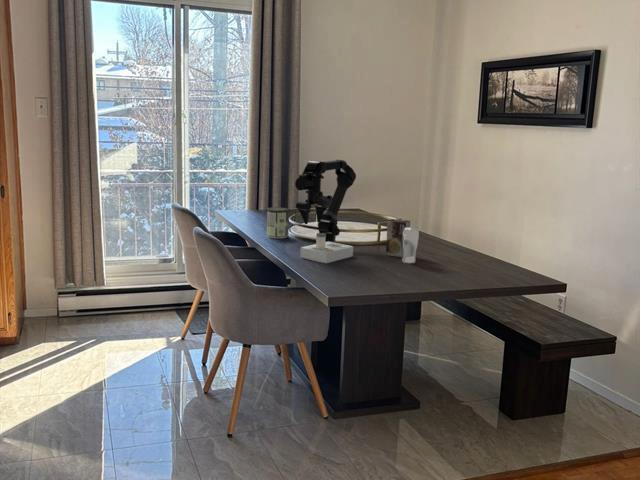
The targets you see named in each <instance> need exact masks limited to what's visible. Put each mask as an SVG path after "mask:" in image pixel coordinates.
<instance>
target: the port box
mask: <svg viewBox="0 0 640 480" xmlns="http://www.w3.org/2000/svg"><path fill="white" fill-rule="evenodd" d="M353 256H354V246H352V245H349V244H348V245H347V244H343V243H338V242H335V243H334V242H329V241H328V242H325V250H322V251H321V250H317V249H316V243H314V244H310V245H306V246H305V245H304V246H301V247H300V255H299V257H300V258H301V259H305V260H310V261H313V262H318V263H323V264H329V263H332V262H336V261H339V260H344V259H348V258H351V257H353Z"/></svg>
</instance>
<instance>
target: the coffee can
mask: <svg viewBox="0 0 640 480" xmlns="http://www.w3.org/2000/svg"><path fill="white" fill-rule="evenodd" d="M288 211H289V209H288V208H286V207H279V206H277V207H276V206H275V207H274V206H273V207H267V208H266V213H267V216H266V218H267V219H266V237H267V238H270V239H286V238H287V237H288Z"/></svg>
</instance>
